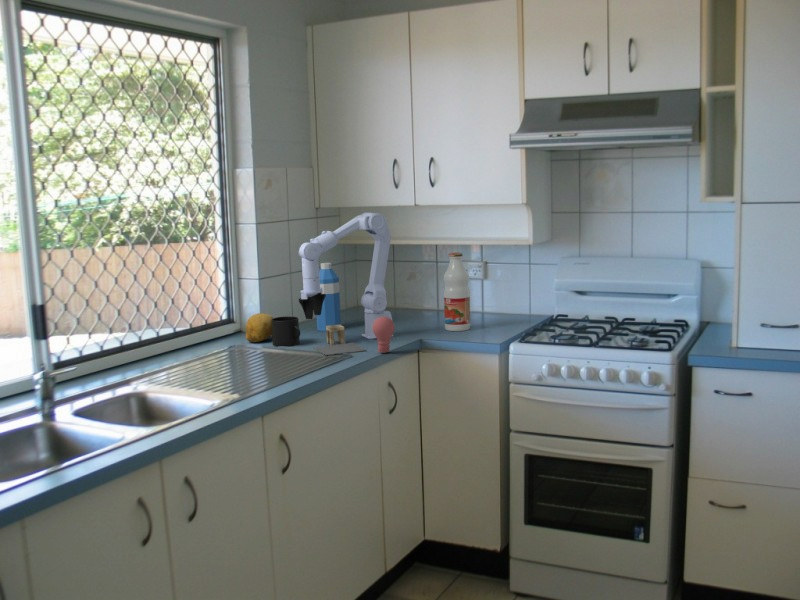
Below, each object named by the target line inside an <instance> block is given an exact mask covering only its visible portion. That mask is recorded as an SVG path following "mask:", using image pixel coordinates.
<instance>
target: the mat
mask: <svg viewBox="0 0 800 600" xmlns="http://www.w3.org/2000/svg"><path fill="white" fill-rule="evenodd" d="M313 349H314V350H316V351H318V352H319V353H320V354H322V353H323V354H322V355H324V354H325V355H330V356H333V355H332V354H338V355H344V354H343V353H347V354H354V353H362V352H363V353H364V352H367V351H368V350H367V349H366V348H364V347H362V346H360V345H359V344H356V343H354V342H349V343H346V342H345V344H341V343H339V344H335V345H330V344H329V345H319V346H313ZM325 355H324V356H325Z"/></svg>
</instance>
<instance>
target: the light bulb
mask: <svg viewBox="0 0 800 600" xmlns="http://www.w3.org/2000/svg"><path fill="white" fill-rule="evenodd" d="M395 329H396V328H395V323H394V321H393V319H392V320H391V319H390V318H388V317H379V318H377V319H376V320H375V321H374V323H373V332H374V334H375V336H376V338H375V339H377V344H378V345H377V350H378V353H381V354H386V353H388V352H390V347H391V346H390V344H391V340H392V337H393V336H394V332H395ZM392 335H393V336H392Z"/></svg>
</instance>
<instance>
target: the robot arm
mask: <svg viewBox="0 0 800 600" xmlns="http://www.w3.org/2000/svg"><path fill="white" fill-rule="evenodd" d="M389 229H390V228H389V226H388V220H387V218H386V217H385V216H384V215H383V214H382V213H380V212H369V211H367V212H366V211H365V212H363V213H362V214H359V215H356V216H355V217H354V218H352V219H350V220H349V221H347V222H346V223H345V224H343V225H341V226H340V227H338V228H337V229H335V230H334V231H331V230H323V231H322V232H321V234H320V235H318V236H316V237H315V238H311V239H309V242H304V243H302V244H301V245H300V246H299V250H298V255H299V257H300V258H301V271H302V274H301V275H302V287H303V289H302V290H300V298H298V303H299V304H300V306H301V308H302V309H303V310H302V311H303V313H304V316H305V319H306V320H312V319H313V317H314V315H315V316H317V315H321V311H322V305H323V301H324V299H325V297H326V294H321V293H323V289H322V287H320V278H319V271H320V265H319V264H320V263H319V258H320V257H321V254H322V255H323V254H324V253H325V252H327V251H329V250H331V249H332V248H334V247H336V246H337V245H338V242H339V240H340V239H343V238H344V237H346V236H348V235H350V234H352V233H354V232H356V231H359V230H360V231H361V230H363V231H365V232H367V233H368V234H369V235H370V236H371V237H372V238H373V239H374V247H373V254H372V259H371V260H372V261H371V266H370V267H371V268H370V274H369V281H368V284H367V286H366V287H365V288H364V293H363V295H362V297H361V299H360V303H361V306H362V307H363V308H364V331H365V332H364V333H362V334H361V337H364V338H365V339H367V340H373V339H377V338H376V336H375V334H374V332H373V323H374V321H375V320H376V319H377V318H379V317H388V318H390V319H391V320H392V321H393V317H392V313H391V311H389V310H386V308H387V306H388V301H387V290H386V288H385V280H386V273H387V265H388V259H389V253H390V246H391V239H392V235H391V233H390V230H389ZM392 337H394V334H393V335H392Z"/></svg>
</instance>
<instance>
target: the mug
mask: <svg viewBox="0 0 800 600" xmlns="http://www.w3.org/2000/svg"><path fill="white" fill-rule="evenodd" d="M271 327H272V335H271V337H272V338H271V339H272V340H271V341H272V346H274V347H278V346H288V347H293V346H294V345H295V346H297V345H299V344H301V342H300V340H301V339H300V337H301V330H300V321H299V317H297V316H290V315H289V316H288V315H287V316H286V315H285V316H278V317H273V319H271Z"/></svg>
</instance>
